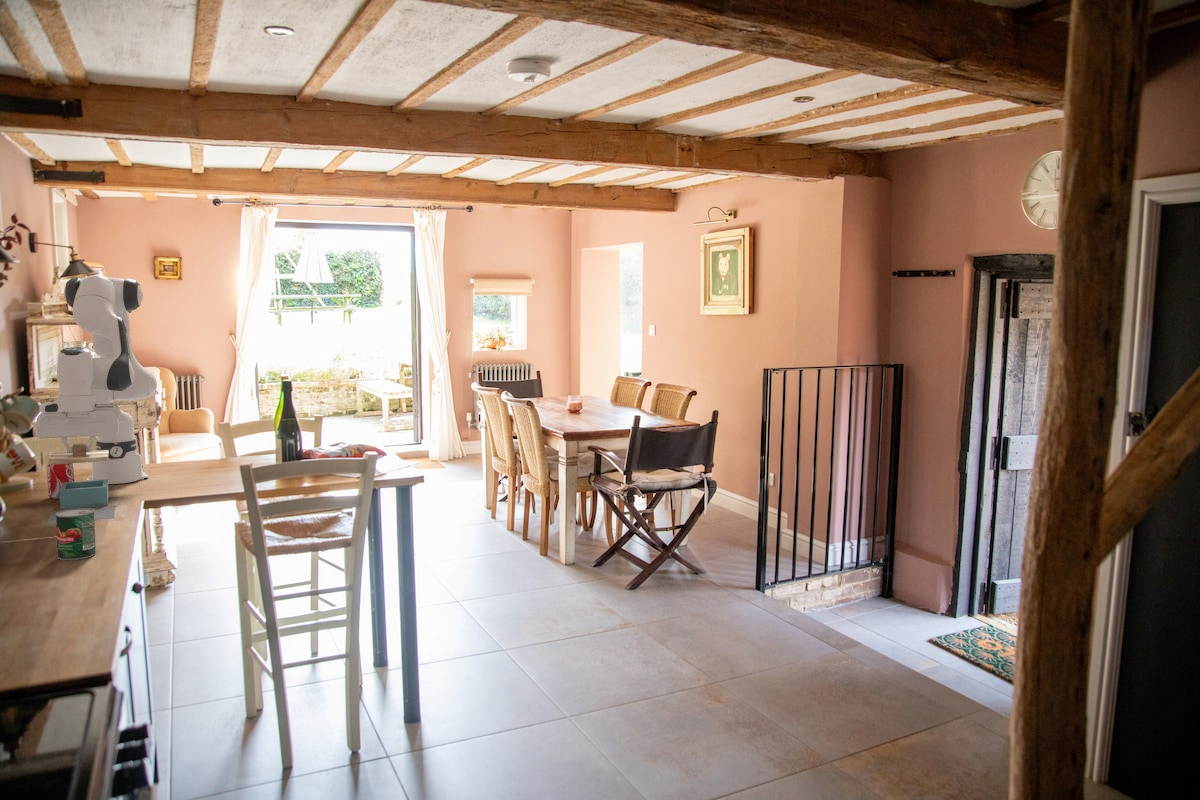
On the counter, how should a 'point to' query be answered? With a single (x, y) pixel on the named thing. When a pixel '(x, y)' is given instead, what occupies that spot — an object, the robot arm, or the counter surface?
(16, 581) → the counter surface
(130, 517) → the counter surface
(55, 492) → the soda can
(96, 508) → the mat
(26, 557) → the counter surface
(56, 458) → the lid
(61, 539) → the canned tomato
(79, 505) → the teal open box
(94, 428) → the robot arm
